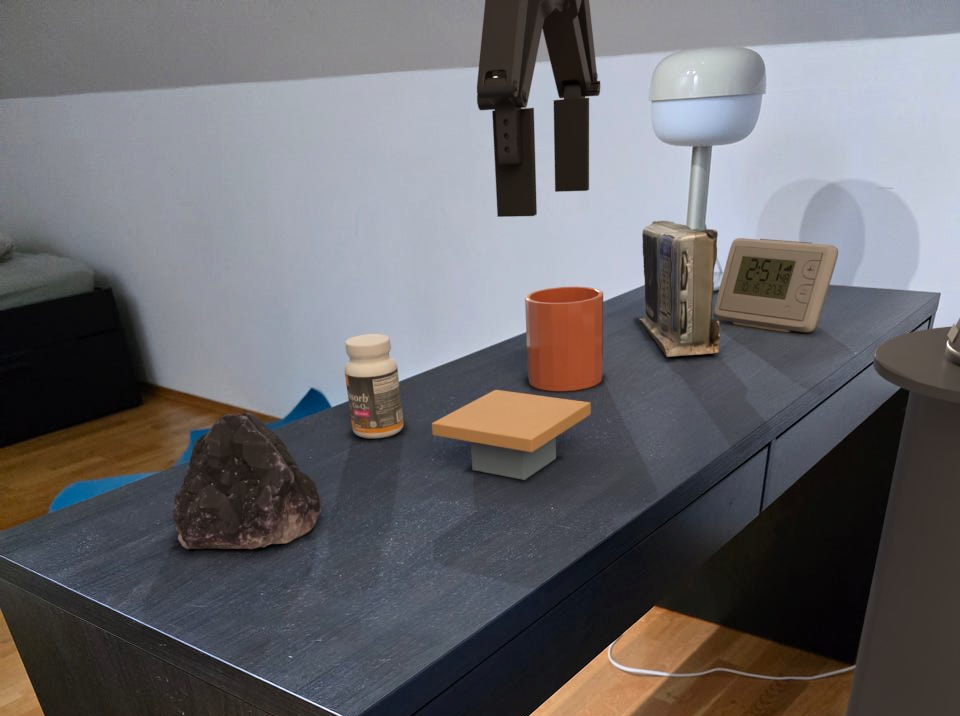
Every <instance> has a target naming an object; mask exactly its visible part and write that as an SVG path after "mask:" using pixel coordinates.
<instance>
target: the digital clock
mask: <svg viewBox="0 0 960 716" xmlns="http://www.w3.org/2000/svg"><path fill="white" fill-rule="evenodd" d="M838 249H839V248H837V246H835V245H832V244H825V243H824V244H823V243H813V242H808V241H796V240H783V239H769V238H745V237H738V238H735V239H734V240H733V241H732V243H731V245H730V248H729V251H728V255H727V259H726V263H725V267H724V270H723V273H722V277H721V281H720V285H719V288H718V289H719V290H718V293H717V297H716V300H715V304H714V309H713V317H714V318H715V319H716V320H718V321H725V322H731V323H732V324H733V325H736V326H737V325H738V326H743V327H751V328H755V329H762V330H763V329H765V330H770V331H776V332H784V333H791V332H792V331H793V332H799V333H812V332H814V331H815V330H816V328H817V326H818V324H819V320H820V317H821V314H822V312H823V307H824V304H825V301H826V297H827V294H828V292H829V289H830V284H831V282H832V278H833V274H834V271H835V267H836V264H837V261H838V256H839V250H838Z"/></svg>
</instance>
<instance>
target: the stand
mask: <svg viewBox="0 0 960 716" xmlns="http://www.w3.org/2000/svg"><path fill="white" fill-rule="evenodd" d="M469 443H470V455H471V468H472V471H476V472H482V473H487V474H491V475H497V476H500V477H506V478H511V479H517V480H523V481H525V480H527V479H528V478H529V477H531V476H532V475H534V474H535V473H537V472H538V471H540V470H542V469H543V468H544V467H546V466H547V465H549V464H550V463H552V462H554V461H555V460H557V436H556V437H555V438H553V439H552V440H550V441H549V442H547V443H546V444H544V445H543V446H541V447H539V448H538V449H536V450H535V451H533V452H526V451H521V450H515V449H509V448H504V447H498V446H492V445H486V444H481V443H475V442H469Z"/></svg>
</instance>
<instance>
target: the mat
mask: <svg viewBox="0 0 960 716" xmlns="http://www.w3.org/2000/svg"><path fill="white" fill-rule="evenodd" d="M591 406H592V403H591V402H589V401H582V400H575V399H567V398H559V397H552V396H544V395H539V394H538V395H537V394H531V393H523V392H517V391H516V392H515V391H509V390H508V391H507V390H501V389H493V390H492V391H490V392H488V393H486V394H485V395H483V396H480V397H479V398H477V399H475V400H473V401H472V402H470V403H468V404H465V405H464V406H461V407H459V408H458V409H456V410H453V412H450V413H449V414H446V415H445V416H443V417H440V418H439V419H437V420H435V421H434V422H432V423H431V430H432V435H433V436H434V437H441V438H447V439H452V440H459V441H464V442H469V443H470V442H475V443H481V444H486V445H492V446H498V447H504V448H509V449H515V450H521V451H526V452H533V451H535V450H536V449H538V448H539V447H541V446H543V445H544V444H546V443H547V442H549V441H550V440H552V439H553V438H555V437H556V438H557V437H559V436H560V435H561V434H563V433H565V432H566V431H567V430H569V429H570V428H572V427H573V426H575V425H577V424H578V423H579V422H581V421H583V420H584V419H586V418H587V417H589V416H590V415H591V413H592V412H591V409H592V407H591Z"/></svg>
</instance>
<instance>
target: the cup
mask: <svg viewBox="0 0 960 716" xmlns="http://www.w3.org/2000/svg"><path fill="white" fill-rule="evenodd" d="M524 308H525V331H526V332H525V333H526V358H527V359H526V362H527V378H528V384H529V385H530V386H531V387H533V388H535V389H538V390H542V391H548V392H549V391H550V392H574V391H580V390H584V389H588V388H592V387H594V386H595V387H596V386H597V385H599V384H600V383H601V382H602V380H603V371H604V292H603V291H602V290H601V289H598V288H594V287H589V286H558V287H557V286H556V287H549V288H543V289H539V290H535V291H531V292H530V293H528V294H526V296H525V297H524Z"/></svg>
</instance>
